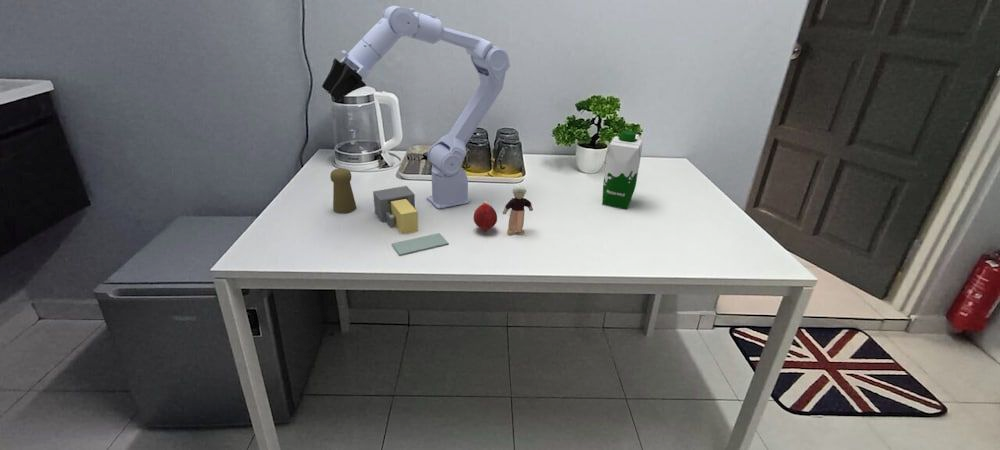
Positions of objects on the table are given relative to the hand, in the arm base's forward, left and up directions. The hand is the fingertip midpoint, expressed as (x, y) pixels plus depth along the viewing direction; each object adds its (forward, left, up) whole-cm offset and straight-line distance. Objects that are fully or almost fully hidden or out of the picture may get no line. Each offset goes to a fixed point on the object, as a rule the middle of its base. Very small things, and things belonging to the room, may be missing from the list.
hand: (329, 93), depth 109 cm
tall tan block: (-13, +9, -32) cm, 36 cm away
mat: (-13, +20, -32) cm, 40 cm away
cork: (-2, -7, -32) cm, 33 cm away
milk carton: (-72, +21, -32) cm, 81 cm away
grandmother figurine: (-37, +24, -32) cm, 54 cm away
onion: (-30, +20, -32) cm, 48 cm away
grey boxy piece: (-13, +3, -32) cm, 34 cm away
